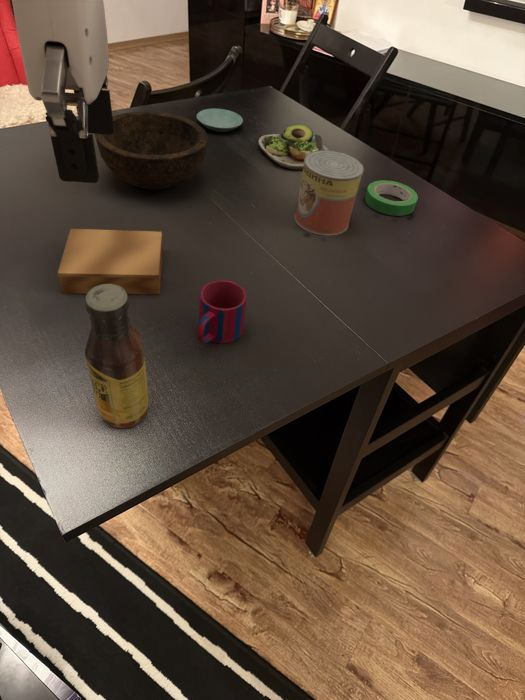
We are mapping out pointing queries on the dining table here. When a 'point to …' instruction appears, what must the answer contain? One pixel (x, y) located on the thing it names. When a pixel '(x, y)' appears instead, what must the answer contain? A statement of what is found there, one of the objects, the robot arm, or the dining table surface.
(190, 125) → the bowl
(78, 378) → the dining table surface
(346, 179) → the canned food
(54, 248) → the dining table surface
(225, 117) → the saucer
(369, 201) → the tape roll
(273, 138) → the avocado toast plate
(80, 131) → the robot arm
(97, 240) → the oak stand
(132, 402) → the sauce bottle
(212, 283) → the mug
